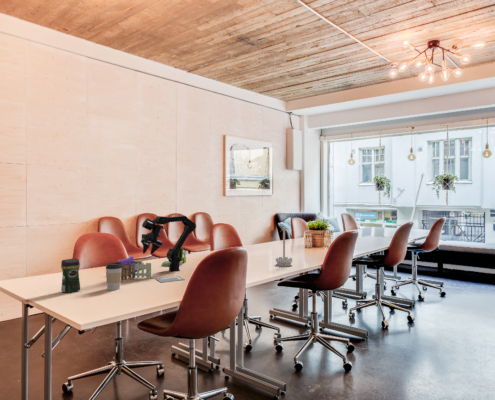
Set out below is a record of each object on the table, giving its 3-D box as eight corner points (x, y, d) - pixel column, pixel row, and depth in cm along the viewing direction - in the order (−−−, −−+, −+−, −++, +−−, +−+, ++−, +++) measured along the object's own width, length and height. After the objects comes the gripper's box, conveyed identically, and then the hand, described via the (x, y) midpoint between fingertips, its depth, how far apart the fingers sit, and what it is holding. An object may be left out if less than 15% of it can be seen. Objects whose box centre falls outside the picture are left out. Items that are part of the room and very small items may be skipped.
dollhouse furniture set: (160, 267, 295) (160, 252, 295) (172, 260, 323) (172, 247, 323) (179, 267, 293) (179, 252, 293) (188, 260, 322) (188, 247, 322)
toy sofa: (128, 275, 263) (128, 260, 262) (117, 275, 264) (116, 260, 264) (142, 269, 283) (142, 255, 283) (131, 269, 285) (131, 255, 285)
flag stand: (293, 266, 297) (293, 227, 296) (276, 266, 297) (276, 227, 296) (291, 263, 310) (291, 226, 309) (275, 263, 310) (275, 226, 309)
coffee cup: (112, 291, 220) (112, 265, 220) (102, 289, 225) (102, 263, 224) (125, 288, 228) (125, 262, 227) (115, 286, 232) (114, 261, 232)
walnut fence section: (130, 278, 254) (130, 263, 254) (131, 278, 253) (131, 263, 253) (112, 280, 248) (112, 264, 248) (113, 280, 247) (113, 265, 247)
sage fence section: (131, 277, 253) (131, 263, 253) (132, 277, 255) (132, 262, 255) (150, 277, 253) (150, 263, 253) (151, 277, 255) (151, 262, 255)
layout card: (179, 276, 259) (179, 276, 259) (184, 279, 250) (184, 279, 250) (155, 279, 251) (155, 278, 251) (160, 282, 242) (160, 282, 242)
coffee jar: (76, 288, 226) (76, 257, 226) (81, 291, 220) (81, 258, 220) (59, 291, 219) (59, 259, 219) (64, 294, 214) (64, 260, 213)
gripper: (138, 228, 271) (130, 249, 266) (153, 228, 258) (145, 250, 253) (151, 234, 278) (143, 254, 273) (166, 235, 265) (158, 256, 260)
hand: (147, 254), depth 264 cm, fingers open, 9 cm apart
